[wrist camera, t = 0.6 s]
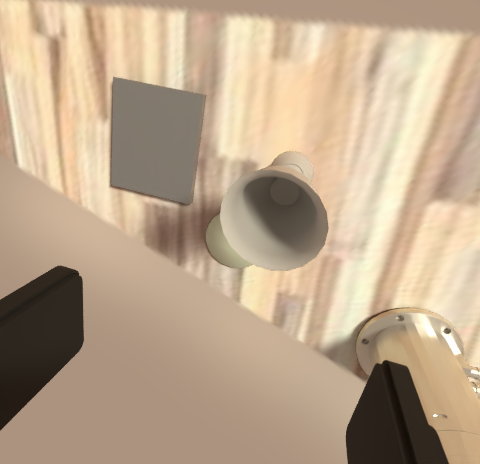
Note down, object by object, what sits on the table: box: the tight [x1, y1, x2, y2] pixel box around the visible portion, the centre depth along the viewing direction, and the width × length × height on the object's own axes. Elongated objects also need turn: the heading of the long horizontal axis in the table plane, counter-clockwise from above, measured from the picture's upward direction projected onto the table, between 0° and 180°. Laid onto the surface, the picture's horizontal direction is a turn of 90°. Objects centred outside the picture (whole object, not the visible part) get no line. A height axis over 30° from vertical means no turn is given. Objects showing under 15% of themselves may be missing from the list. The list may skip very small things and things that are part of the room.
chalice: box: [220, 151, 328, 271], centre depth 29 cm, size 7×7×18 cm
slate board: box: [111, 77, 206, 205], centre depth 39 cm, size 11×13×1 cm
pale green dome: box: [206, 214, 253, 268], centre depth 42 cm, size 8×8×1 cm
